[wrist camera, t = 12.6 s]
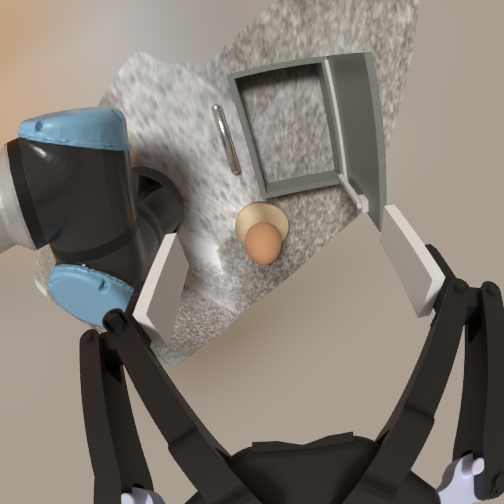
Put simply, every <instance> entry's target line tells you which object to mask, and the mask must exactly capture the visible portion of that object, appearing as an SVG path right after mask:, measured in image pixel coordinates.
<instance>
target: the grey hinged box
mask: <svg viewBox="0 0 504 504" xmlns="http://www.w3.org/2000/svg"><path fill="white" fill-rule="evenodd" d="M326 57H327V59H326ZM312 63H316V67H317V72H318V76H319V81H320V85H321V90H322V95H323V100H324V105H325V110H326V115H327V121H328V127H329V133H330V139H331V145H332V152H333V159H334V166H335V170H332V171H327V172H321V173H316V174H311V175H306V176H301V177H296V178H291V179H286V180H281V181H277V182H272V183H267V184H265V181H264V177H263V173H262V170H261V166H260V162H259V158H258V155H257V151H256V147H255V144H254V140H253V136H252V133H251V129H250V126H249V122H248V119H247V115H246V111H245V108H244V105H243V101H242V98H241V94H240V91H239V87H238V84H237V81H236V78H239V77H243V76H247V75H251V74H256V73H260V72H265V71H270V70H275V69H280V68H286V67H291V66H298V65H305V64H312ZM227 78H228V82H229V85H230V88H231V92H232V95H233V98H234V102H235V105H236V108H237V112H238V115H239V119H240V122H241V125H242V129H243V132H244V136H245V139H246V143H247V146H248V150H249V153H250V157H251V160H252V164H253V168H254V171H255V175H256V178H257V182H258V186H259V189H260V193H261V197H262V199H266V198H271V197H275V196H280V195H285V194H290V193H295V192H299V191H304V190H309V189H315V188H320V187H325V186H330V185H336V184H342V185H343V187H344V188H345V190H346V191H347V193H348V194H349V196H350V197H351V199H352V200H353V202H354V204H355V205H356V207H357V208H360V210H361V212H362V213H366V212H367V213H368V215H369V216H370V218H371V219H372V221H373V222H374V224H375V225H376V227H377V229H378V230H379V231H380V232H381V230H382V221H383V211H384V206H386V162H385V161H386V160H385V143H384V131H383V120H382V111H381V103H380V96H379V89H378V82H377V76H376V70H375V65H374V60H373V55H372V52H365V53H351V54H340V55H331V56H323V57H314V58H306V59H299V60H293V61H287V62H281V63H275V64H270V65H265V66H261V67H256V68H252V69H247V70H243V71H239V72H235V73H231V74H228V75H227Z"/></svg>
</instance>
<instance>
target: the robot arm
mask: <svg viewBox="0 0 504 504" xmlns="http://www.w3.org/2000/svg"><path fill="white" fill-rule="evenodd" d="M18 136H20V137H19V138H17V139H14V140H12V141H10V142H8V143H6V144H4V146H3V148H2V150H1V152H0V254H1V253H3V252H4V251H6V250H7V249H9V248H11V247H13V246H15V245H22V246H24V247H26V248H28V249H31V250H33V251H36V250H38V249H39V248H41V247H43V246H45V245H47V244H50V246H51V249H52V251H53V254H54V257H55V259H56V266H54V267H53V269H51V271H50V277H49V279H48V286H49V289H50V292H51V294H52V296H53V297H54V299H55V300H56V301H57V302H58V303H59V304H60V305H61V306H62V307H63V308H64V309H65V310H67V311H68V312H69V313H71V314H72V315H74V316H76V317H77V318H79V319H81V320H83V321H85V322H88V323H91V324H94V325H98V326H103V327H105V329H106V330H107V332H104V333H101V334H99V333H98V331H96V330H95V329H90V330H87V331H86V332H85V333H84V334H83V335H82V336H81V338H80V380H81V394H82V405H83V414H84V422H85V429H86V436H87V442H88V447H89V453H90V458H91V463H92V468H93V472H94V476H95V480H94V504H165V502H164V501H163V499H162V498H161V496H160V495H159V494H158V493H156V492H154V488H153V483H152V479H151V476H150V472H149V469H148V466H147V463H146V460H145V457H144V454H143V450H142V447H141V443H140V440H139V437H138V433H137V429H136V425H135V421H134V417H133V413H132V409H131V404H130V400H129V395H128V390H127V385H126V381H125V375H124V369H123V365H124V366H125V368H126V370H127V372H128V374H129V376H130V378H131V380H132V382H133V384H134V386H135V388H136V390H137V392H138V394H139V395H140V397H141V399H142V401H143V403H144V405H145V406H146V408H147V410H148V412H149V413H150V415H151V417H152V419H153V420H154V422H155V423H156V425H157V426H158V428H159V430H160V431H161V433H162V435H163V436H164V438H165V439H166V441H167V443H168V445H169V446H168V449H169V452H170V453H171V455H172V456H173V458H174V459H175V461H176V462H177V464H178V465H179V466H180V468H181V469H182V471H183V472H184V473H185V475H186V476H187V477H188V479H189V480H190V481H191V483H192V484H193V485H194V486H195V488H196V489H197V490H198V491H197V492H196V493H195V494H194V495H193V496H192V497H191V498H190V499H189V500H188V501H187V502H186V503H185V504H471V503H473V502H479V501H484V500H489V499H493V498H496V497H499V496H500V495H501V494H503V492H504V307H503V301H502V296H501V292H500V289H499V287H498V286H497V285H496V284H494V283H493V282H490V281H486V282H484V283H483V284H482V286H481V288H473V287H469V285H468V284H467V283H466V282H465V281H463V280H462V279H458V278H456V277H455V275H454V274H453V272H452V271H451V269H450V268H449V266H448V265H447V263H446V262H445V260H444V259H443V257H441V254H440V253H439V251H438V250H437V249H436V248H435V247H433V246H432V245H431V244H428V245H424V244H423V242H422V241H421V240H420V238H419V237H418V236H417V234H416V233H415V231H414V230H413V229H412V227H411V226H410V225H409V223H408V222H407V220H406V219H405V218H404V217H403V215H402V214H401V213H400V211H399V210H398V209H397V208H396V206H395V205H391V206H384V211H383V221H382V230H381V239H380V242H381V244H382V246H383V248H384V249H385V251H386V253H387V255H388V257H389V259H390V261H391V262H392V264H393V266H394V268H395V270H396V272H397V274H398V276H399V278H400V280H401V282H402V284H403V286H404V288H405V290H406V292H407V295H408V297H409V299H410V301H411V303H412V305H413V308H414V310H415V312H416V314H417V317H418V318H420V317H424V316H428V315H430V314H431V311H432V309H433V308H434V310H435V312H436V314H435V316H434V319H433V321H432V323H431V325H430V326H431V328H430V331H429V333H428V336H427V339H426V342H425V344H424V346H423V349H422V352H421V354H420V357H419V359H418V361H417V364H416V366H415V368H414V371H413V373H412V375H411V377H410V379H409V381H408V383H407V385H406V388H405V390H404V392H403V394H402V396H401V398H400V400H399V402H398V403H397V405H396V407H395V409H394V411H393V413H392V415H391V416H390V418H389V420H388V422H387V423H386V425H385V426H384V428H383V429H382V431H381V432H380V433H379V435H378V437H377V438H376V440H375V441H373V440H370V439H368V438H365V437H360V436H353V432H348V433H343V434H337V435H331V436H327V437H324V438H322V439H319V440H316V441H313V442H311V443H308V444H305V445H299V444H291V443H285V442H279V441H272V442H271V441H270V442H253V443H252V447H248V448H245V449H243V450H241V451H239V452H237V453H236V454H234V455H233V456H231V455H230V454H229V453H228V452H227V451H226V450H225V449H224V448H223V447H222V446H221V445H220V444H219V443H218V441H217V440H216V439H215V438H214V437H213V436H212V434H211V433H210V432H209V431H208V430H207V428H206V427H205V426H204V424H203V423H202V422H201V421H200V419H199V418H198V417H197V415H196V414H195V413H194V411H193V410H192V409H191V407H190V406H189V405H188V403H187V402H186V400H185V399H184V398H183V396H182V395H181V393H180V392H179V391H178V389H177V388H176V386H175V385H174V383H173V382H172V380H171V379H170V378H169V376H168V374H167V373H166V371H165V370H164V368H163V367H162V365H161V364H160V362H159V360H158V359H157V357H156V356H155V354H154V352H153V351H152V349H151V348H150V344H151V341H152V343H153V344H154V345H155V347H169V342H170V338H171V334H172V330H173V326H174V322H175V318H176V314H177V310H178V306H179V302H180V298H181V294H182V291H183V287H184V283H185V280H186V276H187V272H188V269H189V263H188V261H187V258H186V256H185V253H184V251H183V248H182V246H181V243H180V241H179V238H178V235H177V233H178V231H179V229H180V226H181V224H182V221H183V217H184V205H183V201H182V197H181V195H180V193H179V191H178V189H177V188H176V187H175V185H174V184H173V183H172V182H171V181H170V180H169V179H168V178H167V177H165V176H164V175H163V174H161V173H159V172H157V171H155V170H152V169H149V168H143V167H135V168H132V165H131V155H130V150H131V144H130V143H129V140H128V133H127V125H126V119H125V116H124V114H123V113H122V112H121V111H120V110H118V109H116V108H113V107H89V108H79V109H72V110H65V111H59V112H54V113H49V114H45V115H41V116H38V117H35V118H30V119H27V120H24V121H23V122H21V124H20V126H19V130H18ZM464 325H465V361H464V362H465V363H464V380H463V392H462V400H461V408H460V415H459V421H458V427H457V433H456V438H455V443H454V449H453V459H452V463H450V464H449V465H448V467H447V468H446V470H445V472H444V474H443V478H442V482H441V484H440V486H439V487H438V488H437V489H436V490H435V489H434V488H433V487H432V486H431V485H429V484H428V483H426V482H425V481H424V480H423V479H421V478H420V477H419V476H417V475H416V474H415V473H413V472H412V471H411V470H410V469H411V467H412V466H413V464H414V462H415V461H416V459H417V457H418V455H419V453H420V451H421V450H422V448H423V446H424V444H425V442H426V439H427V438H428V436H429V434H430V431H431V429H432V427H433V424H434V420H435V419H434V414H435V412H436V409H437V407H438V405H439V402H440V399H441V397H442V395H443V392H444V389H445V387H446V384H447V381H448V378H449V375H450V372H451V369H452V366H453V363H454V360H455V356H456V353H457V349H458V346H459V342H460V338H461V334H462V330H463V326H464Z"/></svg>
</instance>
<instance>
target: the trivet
mask: <svg viewBox="0 0 504 504" xmlns="http://www.w3.org/2000/svg"><path fill="white" fill-rule="evenodd" d="M259 222H267V223H270V224H272V225H273V226H275V227H276V229H277V230H278V231H279V233H280V236H281V242H282V241H283V240H284V239H285V238H286V236H287V233H288V229H289V225H288V219H287V216H286V214H285V212H284V211H283V210H282V209H281V208H280V207H279V206H277V205H275V204H273V203H270V202H264V201H260V202H254V203H251V204H249V205H247V206H245V207H244V208H243V209H242V210H241V211H240V212H239V214H238V216H237V218H236V224H235V231H236V234H237V237H238V238H239V240H240V241H241V242H242V243H243V244H245V236H246V233H247V231H248V230H249V228H250V227H251V226H253V225H254V224H256V223H259Z"/></svg>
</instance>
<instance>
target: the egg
mask: <svg viewBox="0 0 504 504" xmlns="http://www.w3.org/2000/svg"><path fill="white" fill-rule="evenodd" d="M281 243H282V242H281V236H280V233H279V231H278V230H277V229H276V227H275V226H273V225H272V224H270V223H267V222H259V223H256V224H254V225H253V226H251V227H250V228H249V230H248V231H247V233H246V236H245V248H246V251H247V254H248V255H249V257H250V258H251V259H252V260H253V261H254V262H255V263H257V264H260V265H267V264H270V263H272V262H273V261H274V260H275V259H276V258H277V257H278V255H279V253H280V250H281Z"/></svg>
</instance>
